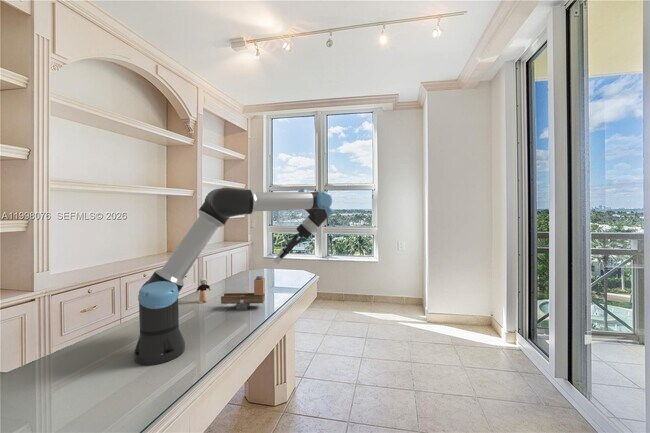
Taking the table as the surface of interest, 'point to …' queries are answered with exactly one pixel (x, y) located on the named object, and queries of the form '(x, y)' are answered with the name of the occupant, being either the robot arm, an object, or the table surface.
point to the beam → (242, 299)
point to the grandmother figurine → (203, 290)
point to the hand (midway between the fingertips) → (277, 259)
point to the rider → (259, 285)
